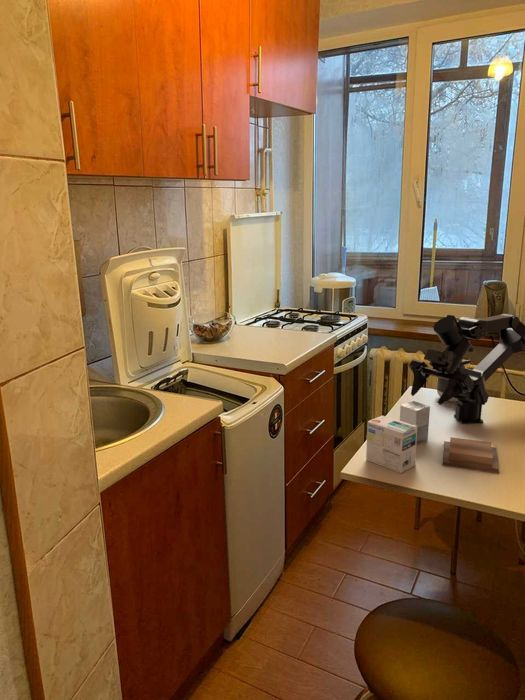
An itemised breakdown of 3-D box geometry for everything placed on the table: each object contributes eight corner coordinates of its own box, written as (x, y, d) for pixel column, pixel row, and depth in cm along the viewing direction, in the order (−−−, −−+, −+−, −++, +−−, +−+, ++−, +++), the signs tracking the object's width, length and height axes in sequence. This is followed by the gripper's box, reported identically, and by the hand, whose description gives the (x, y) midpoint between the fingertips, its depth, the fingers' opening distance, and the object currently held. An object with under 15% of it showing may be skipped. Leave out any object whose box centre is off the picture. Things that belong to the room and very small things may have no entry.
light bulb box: (416, 465, 135) (418, 425, 132) (401, 474, 130) (403, 432, 127) (380, 452, 142) (382, 414, 140) (364, 460, 138) (366, 420, 135)
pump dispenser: (465, 406, 174) (468, 361, 171) (432, 401, 179) (435, 357, 176) (470, 397, 183) (474, 354, 179) (438, 392, 188) (441, 350, 184)
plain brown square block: (411, 434, 154) (413, 400, 151) (427, 440, 149) (429, 406, 147) (398, 438, 150) (400, 405, 148) (414, 445, 146) (416, 410, 144)
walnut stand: (444, 444, 146) (444, 434, 146) (495, 451, 142) (497, 440, 141) (442, 465, 134) (443, 454, 134) (498, 473, 130) (500, 461, 129)
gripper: (414, 332, 156) (386, 375, 152) (471, 344, 141) (441, 392, 137) (430, 354, 162) (403, 396, 159) (486, 368, 147) (458, 415, 144)
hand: (425, 399), depth 149 cm, fingers open, 9 cm apart
